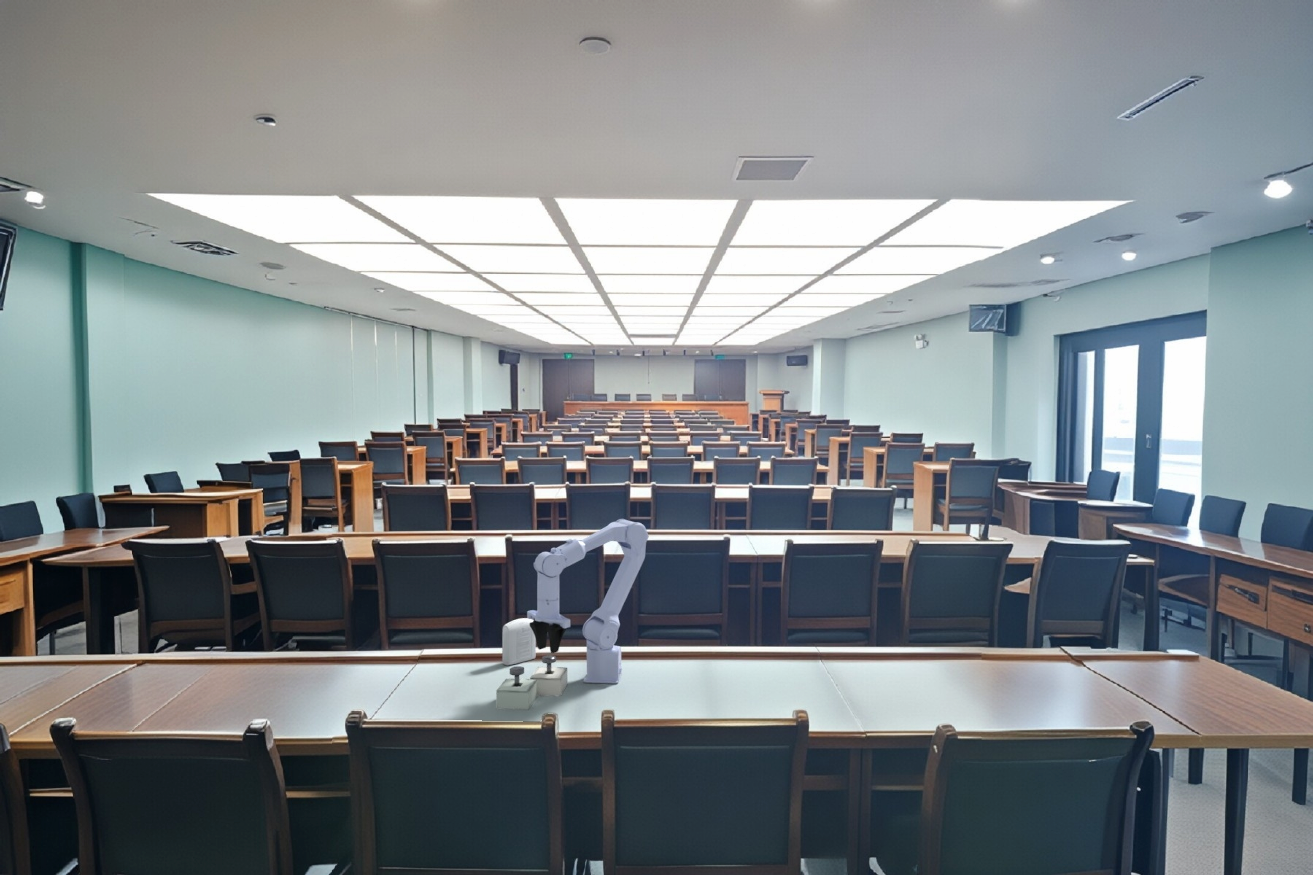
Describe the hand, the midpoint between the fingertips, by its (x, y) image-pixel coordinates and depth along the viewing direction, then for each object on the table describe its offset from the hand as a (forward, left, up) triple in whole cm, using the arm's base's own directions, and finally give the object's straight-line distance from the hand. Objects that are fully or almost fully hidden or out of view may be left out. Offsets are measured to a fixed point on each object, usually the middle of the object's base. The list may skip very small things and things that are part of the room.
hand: (548, 650), depth 180 cm
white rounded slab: (+14, -21, -11) cm, 27 cm away
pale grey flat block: (+6, +9, -10) cm, 15 cm away
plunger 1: (+6, +9, -7) cm, 13 cm away
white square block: (0, 0, -10) cm, 10 cm away
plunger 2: (0, 0, -7) cm, 7 cm away
